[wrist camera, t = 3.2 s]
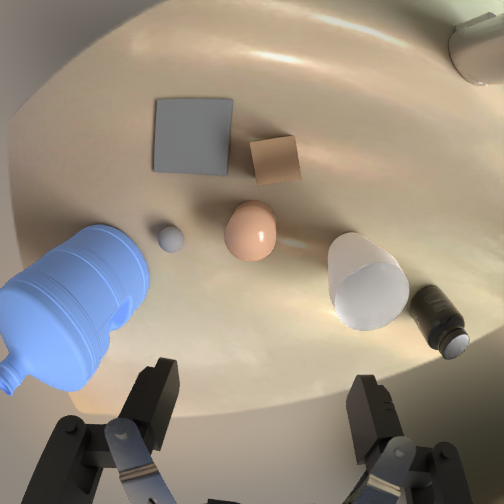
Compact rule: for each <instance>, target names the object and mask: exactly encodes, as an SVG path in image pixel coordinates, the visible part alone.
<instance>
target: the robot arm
mask: <svg viewBox="0 0 504 504" xmlns="http://www.w3.org/2000/svg"><path fill="white" fill-rule="evenodd" d="M449 52H450V56H451V59H452V61H453V63H454V65H455V67H456V69H457V70H458V72H459V73H460V74H461V75H462V76H463V77H464V78H465V79H466V80H467V81H468V82H470V83H472V84H474V85H478V86H483V85H494V84H504V13H503V14H500V15H498V16H496V15H494V14H493V13H490V12H488V13H486V14H483V15H481V16H478V17H476V18H474V19H471V20H469V21H467V22H464V23H462V24H460V25H458V26H455V32H454V33H453V34H452V35H451V37H450V40H449ZM179 387H180V382H179V374H178V365H177V361H176V360H173V359H167V358H161V357H160V358H159V359H158V361H157V363H156V366H155V368H154V367H149V366H147V367H146V368H145V369H144V370H143V371H141V372H140V373H139V375H138V377H137V379H136V381H135V383H134V385H133V387H132V390H131V392H130V394H129V396H128V398H127V400H126V402H125V404H124V406H123V408H122V410H121V413H120V415H119V416H118V417H117V418H115V419H113V420H111V421H109V422H108V423H107V424H102V425H100V424H85V423H84V421H83V420H82V419H81V418H79V417H77V416H74V415H68V416H65V417H63V418H61V419H60V420H59V421H58V422H57V424H56V426H55V428H54V430H53V432H52V434H51V436H50V438H49V440H48V443H47V445H46V447H45V449H44V451H43V453H42V455H41V457H40V460H39V462H38V464H37V466H36V469H35V471H34V473H33V475H32V478H31V480H30V482H29V485H28V487H27V490H26V492H25V495H24V497H23V500H22V502H21V504H92V503H93V499H94V496H95V493H96V490H97V486H98V483H99V480H100V477H101V474H102V471H103V468H117V469H118V472H119V474H120V476H119V478H120V481H121V483H122V486H123V488H124V490H125V493H126V495H127V497H128V499H129V501H130V503H131V504H177V502H176V501H175V499H174V497H173V496H172V494H171V492H170V490H169V489H168V487H167V485H166V483H165V482H164V480H163V478H162V476H161V474H160V472H159V470H158V469H157V467H156V465H155V464H154V462H153V460H152V458H151V453H152V451H153V450H157V451H160V450H161V446H162V444H163V440H164V437H165V434H166V431H167V428H168V425H169V421H170V419H171V415H172V412H173V409H174V406H175V403H176V400H177V397H178V394H179ZM346 409H347V414H348V419H349V423H350V429H351V433H352V439H353V444H354V449H355V455H356V460H357V465H361V464H366V470H365V471H364V473H363V474H362V476H361V477H360V479H359V481H358V482H357V484H356V485H355V487H354V488H353V490H352V491H351V492H350V494H349V495H348V497H347V498H346V499H345V501H344V502H343V503H342V504H396V502H397V500H398V499H399V497H400V494H401V491H399V489H400V487H404V488H405V494H406V500H407V504H473V503H472V499H471V495H470V492H469V488H468V484H467V480H466V477H465V473H464V470H463V467H462V464H461V461H460V457H459V454H458V451H457V449H456V447H455V446H454V445H452V444H451V443H449V442H440V443H438V444H437V445H435V447H434V448H428V447H419V446H415V444H414V443H413V441H412V440H410V439H408V438H407V437H405V436H404V434H403V431H402V428H401V425H400V422H399V419H398V416H397V413H396V411H395V407H394V404H393V403H392V398H391V396H390V393H389V392H388V391H387V389H386V388H385V387H384V386H383V385H377V382H376V379H375V376H374V375H357V376H356V378H355V380H354V382H353V385H352V387H351V389H350V391H349V394H348V396H347V400H346ZM206 504H240V503H236V502H230V501H222V500H214V499H208V503H206Z"/></svg>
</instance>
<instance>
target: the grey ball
mask: <svg viewBox="0 0 504 504" xmlns="http://www.w3.org/2000/svg"><path fill="white" fill-rule="evenodd" d="M158 242H159V245H160V247H161V248H162V249H163V250H164V251H166V252H176V251H178V250H179V249H180V248H181V247H182V245H183V243H184V236H183V233H182V231H181V230H180V229H178V228H177V227H174V226H169V227H166V228H164V229H163V230H162V231H161V232H160V234H159V237H158Z"/></svg>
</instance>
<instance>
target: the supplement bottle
mask: <svg viewBox="0 0 504 504" xmlns="http://www.w3.org/2000/svg"><path fill="white" fill-rule="evenodd" d="M410 313H411V316H412V318H413V319H414V321H415V323H416V324H417V326H418V328H419V330H420V331H421V333H422V335H423V336H424V338H425V340H426V342H427V343H428V345H429V346H430V347H431V348H432V349H435V350H439V352H440V353H441V355H442V356H443V358H444V359H448V360H450V359H454V358H456V357H457V356H459V355H461V354H462V353H463V351H465V349H466V348H467V346H468V344H469V336H468V334H467V333H466V330H465V329H464V326H465V323H464V318H463V316H462V315H461V314H460V312H459V311H458V310H457V309H456V307H455V306H454V305H453V304H452V302H451V301H450V300H449V299H448V297H447V296H446V295H445V294H444V293H443V292H442V290H441V289H439V288H438V287H435V286H429V287H426V288H423V289H422V290H420V291H419V292H418V293H417V294H416V295H415V296H414V298H413V299H412V301H411V304H410Z"/></svg>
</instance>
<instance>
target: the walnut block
mask: <svg viewBox="0 0 504 504" xmlns="http://www.w3.org/2000/svg"><path fill="white" fill-rule="evenodd" d="M250 148H251V153H252V159H253V164H254V170H255V175H256V181H257V186H259V185H265V184H272V183H279V182H286V181H293V180H301V173H300V167H299V160H298V153H297V147H296V141H295V136H293V135H291V136H284V137H277V138H270V139H264V140H258V141H252V142H250Z"/></svg>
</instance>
